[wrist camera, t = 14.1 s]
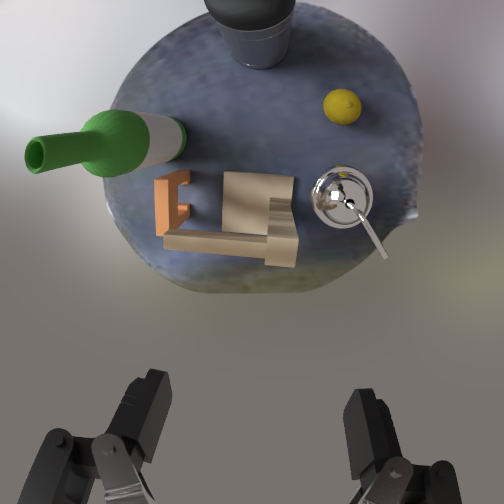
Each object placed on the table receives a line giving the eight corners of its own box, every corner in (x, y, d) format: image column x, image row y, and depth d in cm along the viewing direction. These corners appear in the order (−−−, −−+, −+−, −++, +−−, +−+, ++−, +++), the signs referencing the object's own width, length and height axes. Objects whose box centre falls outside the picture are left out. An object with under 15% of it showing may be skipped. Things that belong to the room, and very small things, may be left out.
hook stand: (207, 170, 44) (161, 194, 26) (293, 176, 44) (308, 204, 25) (205, 227, 48) (166, 284, 30) (287, 234, 48) (294, 297, 29)
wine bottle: (164, 108, 40) (30, 89, 13) (198, 134, 42) (84, 137, 14) (138, 144, 43) (0, 171, 15) (170, 170, 45) (45, 224, 17)
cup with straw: (350, 156, 42) (402, 172, 23) (355, 209, 45) (403, 257, 27) (299, 162, 43) (319, 180, 24) (306, 216, 46) (328, 269, 28)
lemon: (323, 128, 40) (334, 125, 33) (315, 95, 38) (324, 86, 31) (355, 123, 39) (372, 121, 32) (348, 91, 37) (363, 83, 30)
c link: (178, 169, 44) (154, 179, 35) (190, 170, 44) (168, 179, 35) (179, 215, 48) (156, 235, 38) (189, 216, 48) (169, 236, 38)
